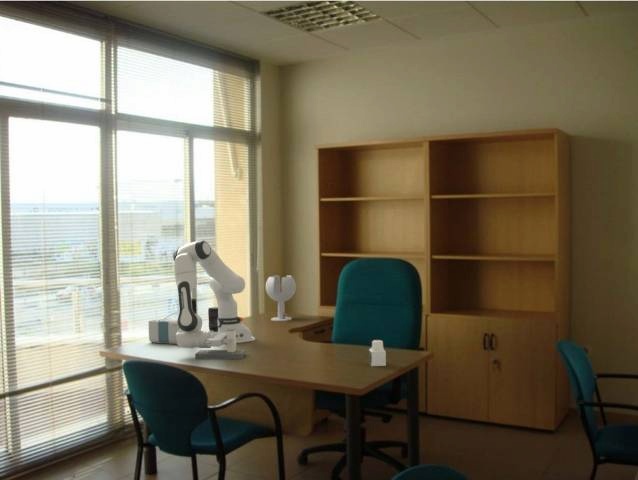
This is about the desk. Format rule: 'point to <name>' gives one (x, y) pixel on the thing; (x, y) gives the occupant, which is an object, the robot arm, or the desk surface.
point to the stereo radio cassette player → (163, 330)
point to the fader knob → (232, 335)
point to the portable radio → (194, 305)
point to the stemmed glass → (281, 293)
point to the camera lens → (213, 319)
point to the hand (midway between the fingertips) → (233, 339)
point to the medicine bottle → (377, 353)
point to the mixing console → (219, 354)
